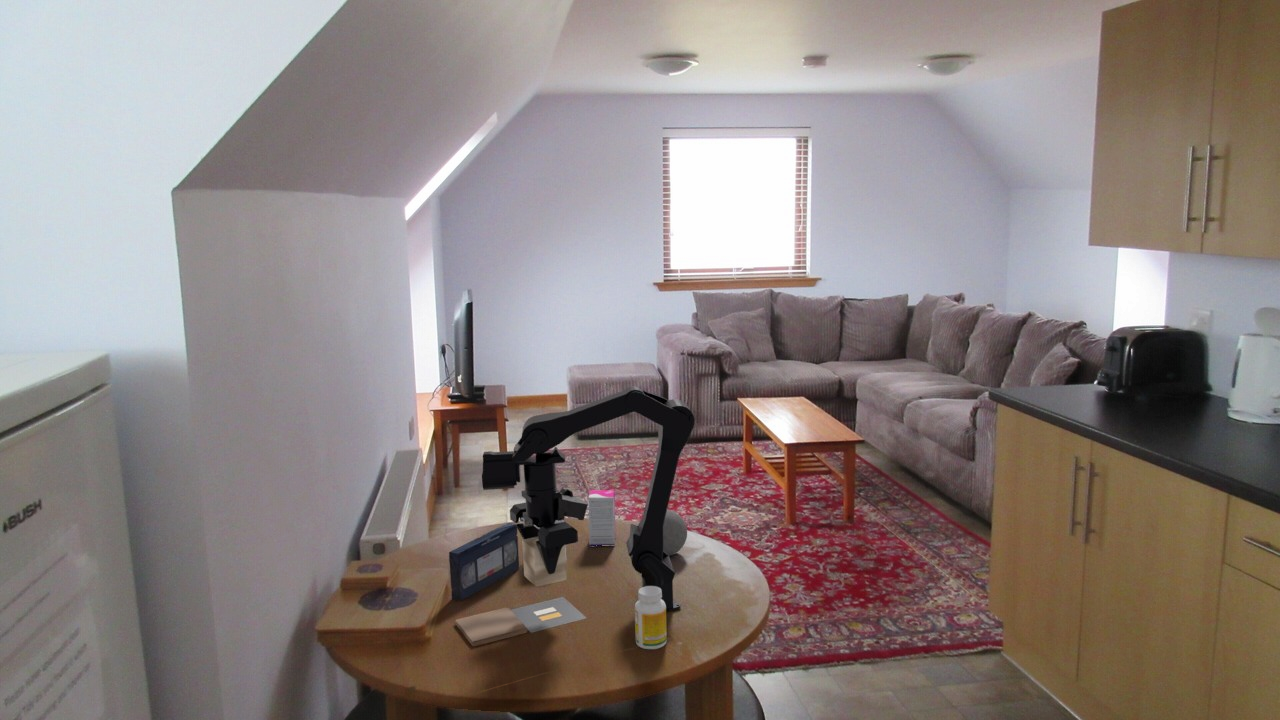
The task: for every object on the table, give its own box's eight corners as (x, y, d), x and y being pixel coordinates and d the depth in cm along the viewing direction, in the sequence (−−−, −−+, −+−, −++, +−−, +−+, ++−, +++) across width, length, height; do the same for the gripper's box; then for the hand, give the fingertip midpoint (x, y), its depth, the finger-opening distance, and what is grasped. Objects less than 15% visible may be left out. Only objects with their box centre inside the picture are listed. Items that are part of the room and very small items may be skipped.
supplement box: (615, 546, 202) (613, 497, 200) (588, 547, 202) (586, 497, 200) (616, 537, 208) (614, 489, 206) (590, 538, 208) (588, 489, 206)
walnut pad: (527, 632, 162) (526, 627, 162) (472, 646, 157) (472, 641, 157) (507, 612, 171) (507, 607, 170) (455, 624, 166) (455, 619, 166)
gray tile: (586, 618, 167) (586, 618, 167) (530, 633, 162) (530, 632, 162) (563, 597, 176) (563, 596, 176) (509, 610, 171) (509, 609, 171)
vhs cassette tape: (460, 602, 176) (457, 553, 174) (449, 599, 177) (445, 551, 176) (521, 569, 191) (519, 524, 189) (510, 567, 193) (508, 522, 191)
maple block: (566, 579, 166) (564, 543, 165) (536, 586, 164) (534, 549, 163) (553, 568, 172) (552, 533, 171) (524, 575, 169) (522, 539, 168)
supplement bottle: (629, 643, 156) (627, 591, 155) (650, 632, 160) (648, 581, 159) (652, 653, 153) (650, 599, 151) (673, 641, 157) (671, 589, 155)
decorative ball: (697, 554, 196) (696, 509, 194) (663, 567, 189) (661, 521, 188) (665, 542, 203) (664, 499, 202) (632, 554, 197) (630, 510, 195)
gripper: (603, 491, 160) (606, 575, 163) (561, 467, 177) (564, 543, 179) (544, 502, 155) (548, 589, 158) (506, 476, 172) (511, 555, 174)
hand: (544, 567), depth 167 cm, fingers closed on maple block, 6 cm apart
